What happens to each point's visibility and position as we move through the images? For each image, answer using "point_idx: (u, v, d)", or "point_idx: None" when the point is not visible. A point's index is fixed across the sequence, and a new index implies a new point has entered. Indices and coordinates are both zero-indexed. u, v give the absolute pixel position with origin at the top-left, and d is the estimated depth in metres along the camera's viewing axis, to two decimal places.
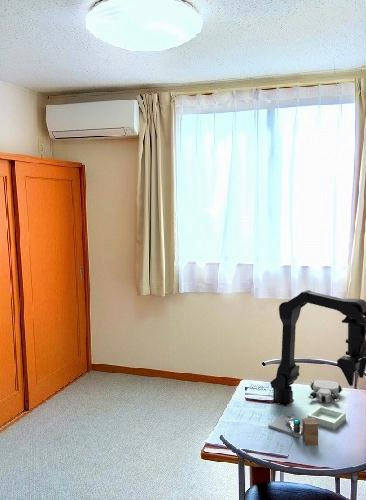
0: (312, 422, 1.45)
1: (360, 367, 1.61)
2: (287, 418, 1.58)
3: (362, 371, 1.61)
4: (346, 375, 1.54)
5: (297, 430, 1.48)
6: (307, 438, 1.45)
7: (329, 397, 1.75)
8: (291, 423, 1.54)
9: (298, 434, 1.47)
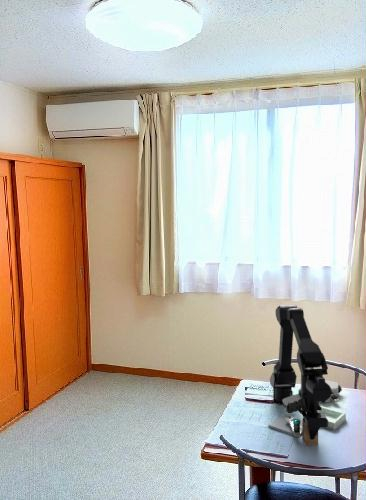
0: None
1: None
2: (287, 418, 1.58)
3: None
4: None
5: (297, 430, 1.48)
6: (307, 438, 1.45)
7: None
8: (291, 423, 1.54)
9: (298, 434, 1.47)
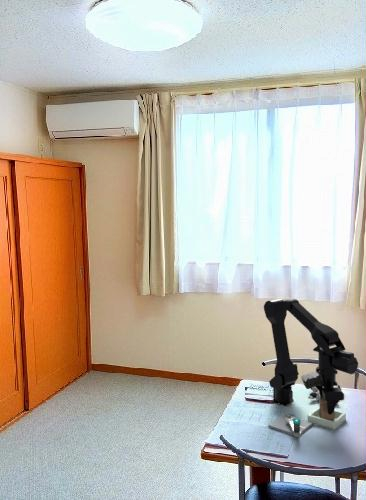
0: None
1: None
2: (287, 418, 1.58)
3: None
4: None
5: (297, 430, 1.48)
6: (324, 415, 1.59)
7: None
8: (291, 423, 1.54)
9: (298, 434, 1.47)
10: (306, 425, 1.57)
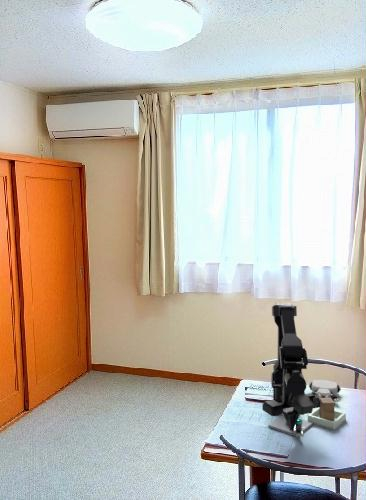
0: (329, 401, 1.60)
1: None
2: None
3: None
4: (286, 418, 1.48)
5: (299, 430, 1.48)
6: (324, 415, 1.59)
7: (329, 397, 1.76)
8: None
9: (300, 434, 1.48)
10: (306, 425, 1.57)
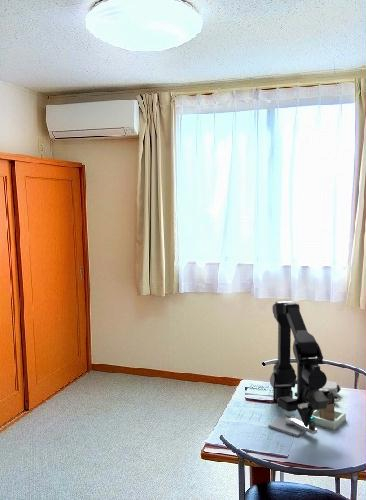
0: None
1: None
2: (288, 419, 1.57)
3: None
4: (300, 415, 1.49)
5: (314, 427, 1.50)
6: (324, 415, 1.59)
7: None
8: (298, 422, 1.55)
9: (315, 430, 1.49)
10: None
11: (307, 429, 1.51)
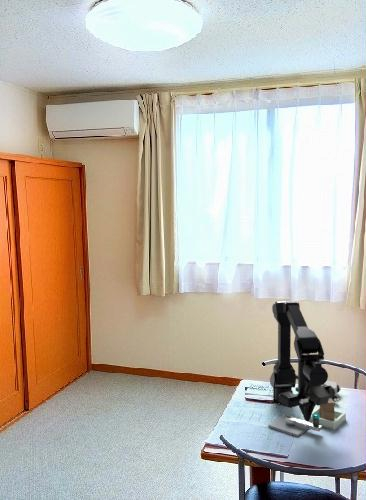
0: (329, 401, 1.60)
1: None
2: (289, 419, 1.57)
3: None
4: (301, 409, 1.50)
5: (318, 424, 1.52)
6: (324, 415, 1.59)
7: None
8: (300, 422, 1.55)
9: (320, 427, 1.51)
10: None
11: (312, 427, 1.52)
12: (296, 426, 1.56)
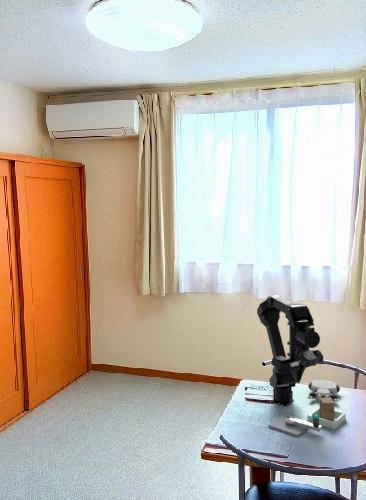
0: (329, 401, 1.60)
1: None
2: (289, 419, 1.57)
3: None
4: (292, 372, 1.65)
5: (318, 424, 1.52)
6: (324, 415, 1.59)
7: (328, 397, 1.76)
8: (300, 422, 1.55)
9: (320, 427, 1.51)
10: None
11: (312, 427, 1.52)
12: (296, 426, 1.56)
